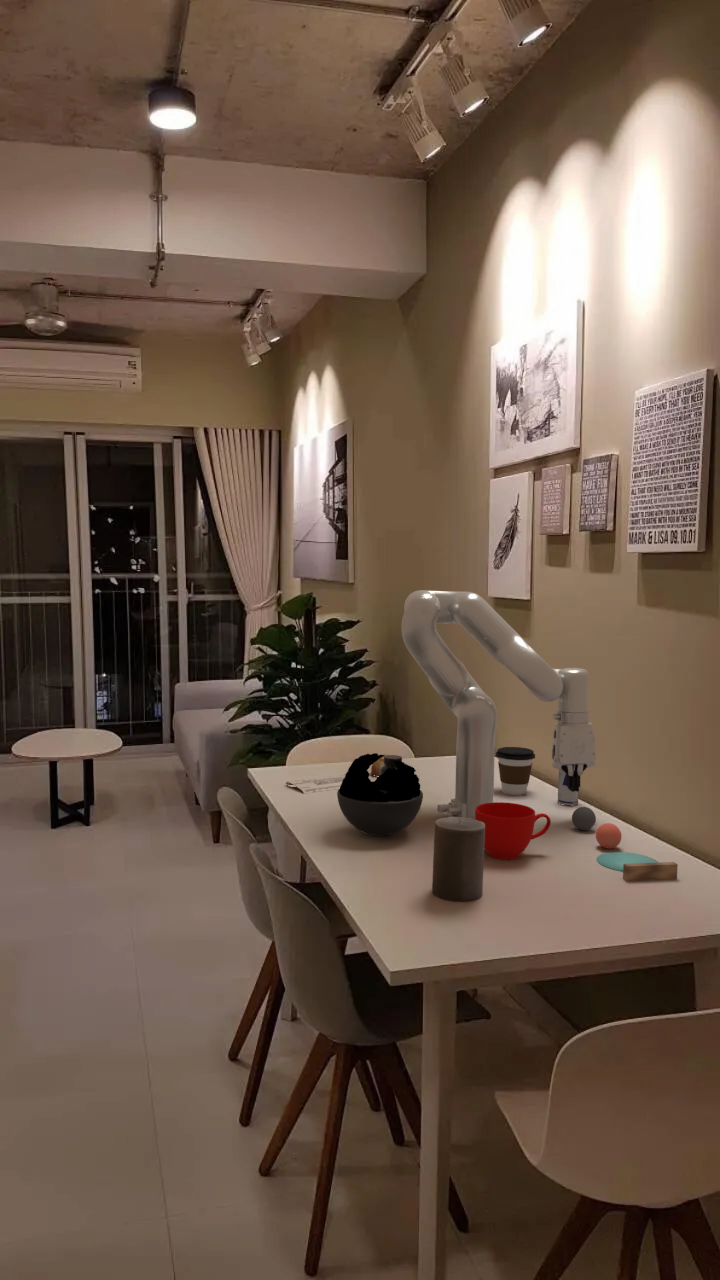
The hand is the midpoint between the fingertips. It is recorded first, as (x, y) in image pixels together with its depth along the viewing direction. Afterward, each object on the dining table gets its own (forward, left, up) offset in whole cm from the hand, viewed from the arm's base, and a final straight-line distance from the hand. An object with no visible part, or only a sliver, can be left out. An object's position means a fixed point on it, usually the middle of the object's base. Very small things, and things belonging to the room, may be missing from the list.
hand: (573, 790), depth 227 cm
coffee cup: (+1, +28, -8) cm, 29 cm away
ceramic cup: (-30, -18, -8) cm, 36 cm away
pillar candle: (-53, -34, -8) cm, 64 cm away
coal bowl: (-51, +6, -8) cm, 52 cm away
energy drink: (+8, +13, -8) cm, 17 cm away
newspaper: (-45, +55, -8) cm, 71 cm away
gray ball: (-3, -9, -5) cm, 11 cm away
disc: (-10, -32, -7) cm, 34 cm away
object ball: (-7, -22, -5) cm, 24 cm away
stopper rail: (-12, -42, -7) cm, 44 cm away
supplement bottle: (-35, +32, -8) cm, 48 cm away
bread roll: (-23, +60, -8) cm, 64 cm away
